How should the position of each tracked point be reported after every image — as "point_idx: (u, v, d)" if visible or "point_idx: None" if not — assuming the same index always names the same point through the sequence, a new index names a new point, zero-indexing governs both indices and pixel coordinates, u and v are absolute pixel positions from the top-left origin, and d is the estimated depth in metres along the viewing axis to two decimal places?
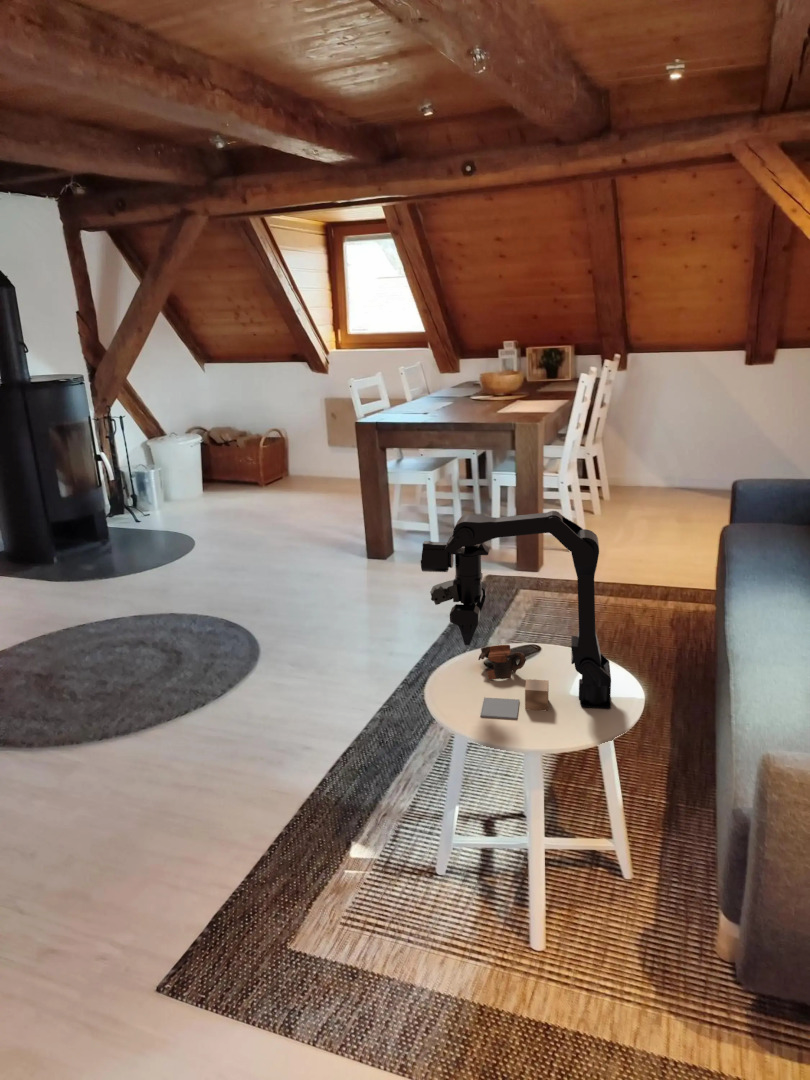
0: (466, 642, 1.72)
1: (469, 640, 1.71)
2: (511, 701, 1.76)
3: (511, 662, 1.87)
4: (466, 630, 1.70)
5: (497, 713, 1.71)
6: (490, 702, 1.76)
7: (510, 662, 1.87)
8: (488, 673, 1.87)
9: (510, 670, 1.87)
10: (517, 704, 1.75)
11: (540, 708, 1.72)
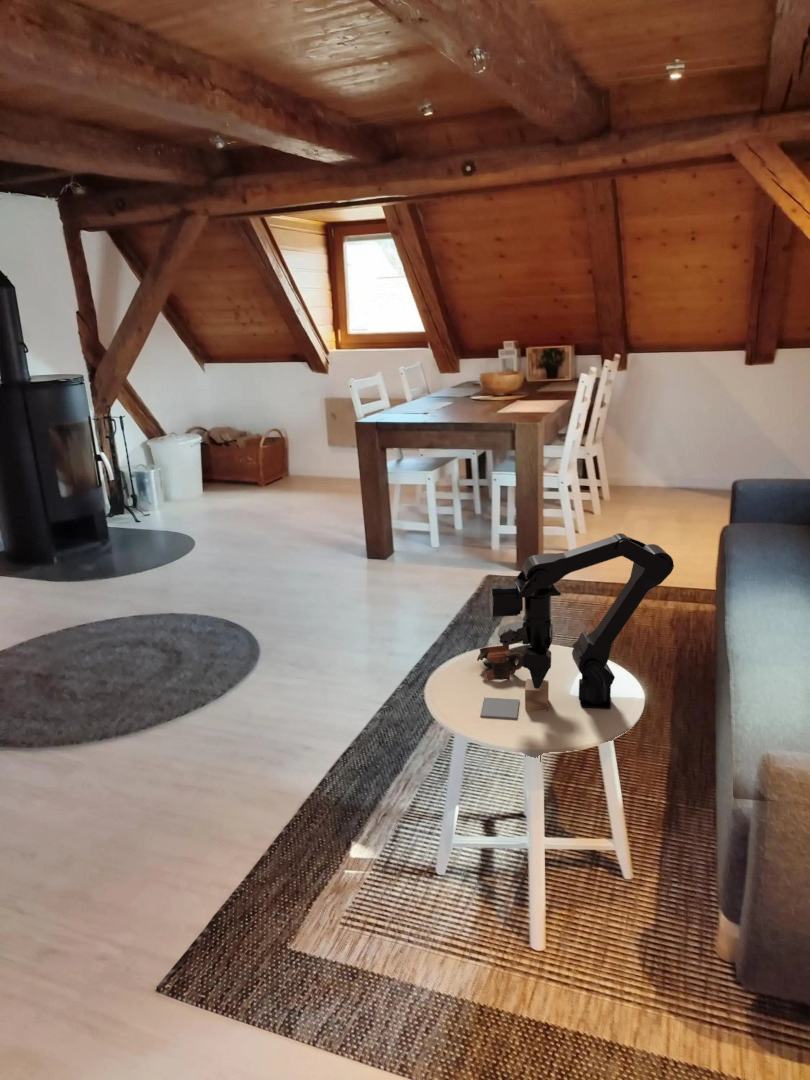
0: (535, 685, 1.68)
1: (539, 683, 1.68)
2: (511, 701, 1.76)
3: (510, 663, 1.87)
4: (536, 673, 1.66)
5: (497, 713, 1.71)
6: (490, 702, 1.76)
7: (509, 663, 1.87)
8: (487, 674, 1.87)
9: (509, 671, 1.87)
10: (517, 704, 1.75)
11: (540, 708, 1.72)
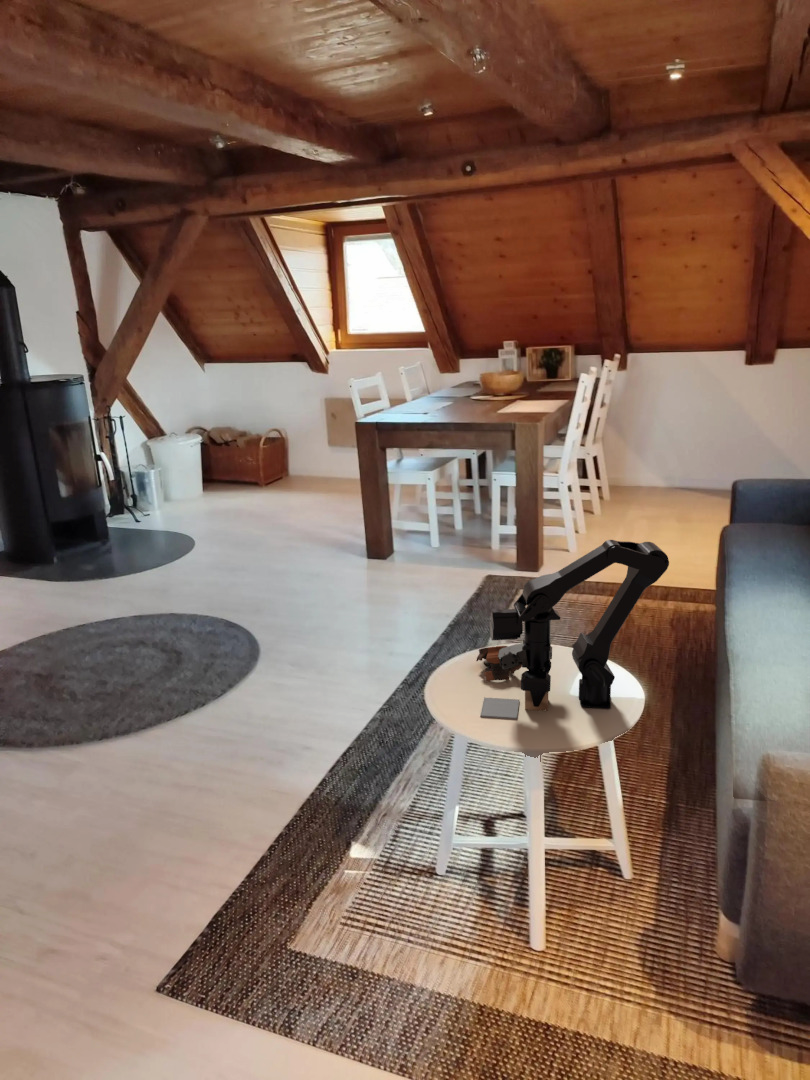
0: (535, 703, 1.72)
1: (539, 702, 1.71)
2: (511, 701, 1.76)
3: None
4: (536, 692, 1.70)
5: (497, 713, 1.71)
6: (490, 702, 1.76)
7: None
8: (487, 674, 1.86)
9: (508, 671, 1.87)
10: (517, 704, 1.75)
11: (540, 708, 1.72)
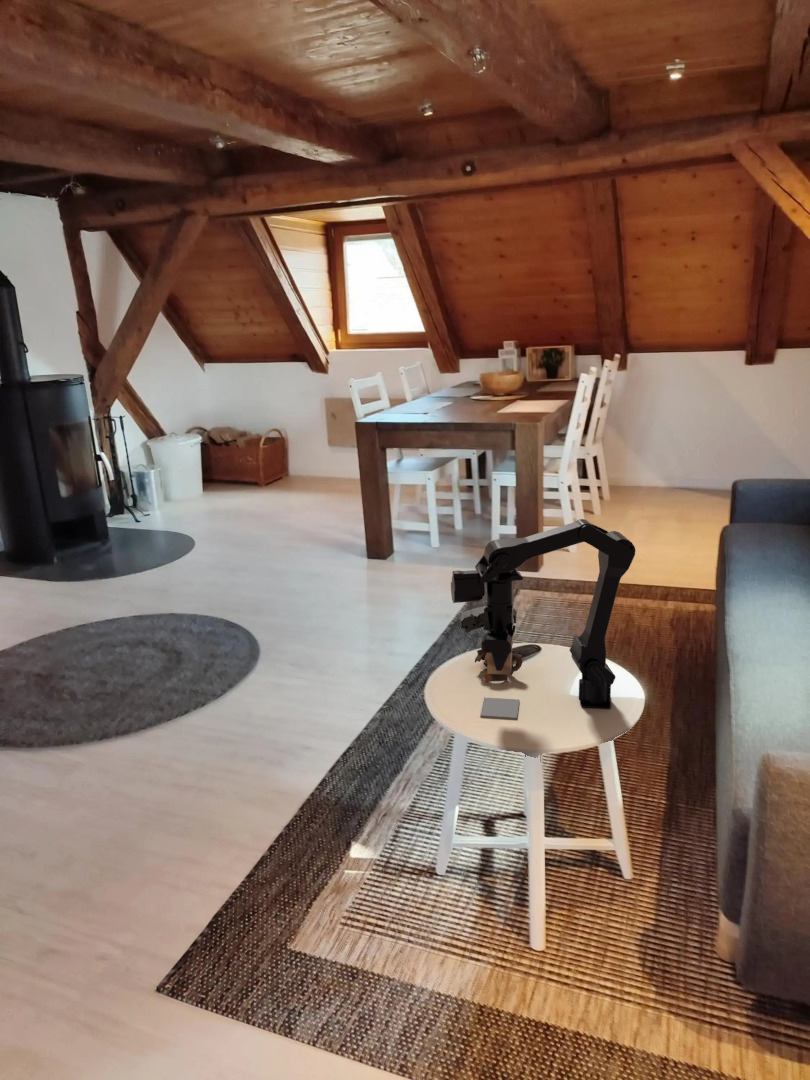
0: (498, 667, 1.67)
1: (501, 665, 1.67)
2: (511, 701, 1.76)
3: None
4: (498, 655, 1.66)
5: (497, 713, 1.71)
6: (490, 702, 1.76)
7: None
8: (485, 675, 1.86)
9: None
10: (517, 704, 1.75)
11: (502, 672, 1.68)
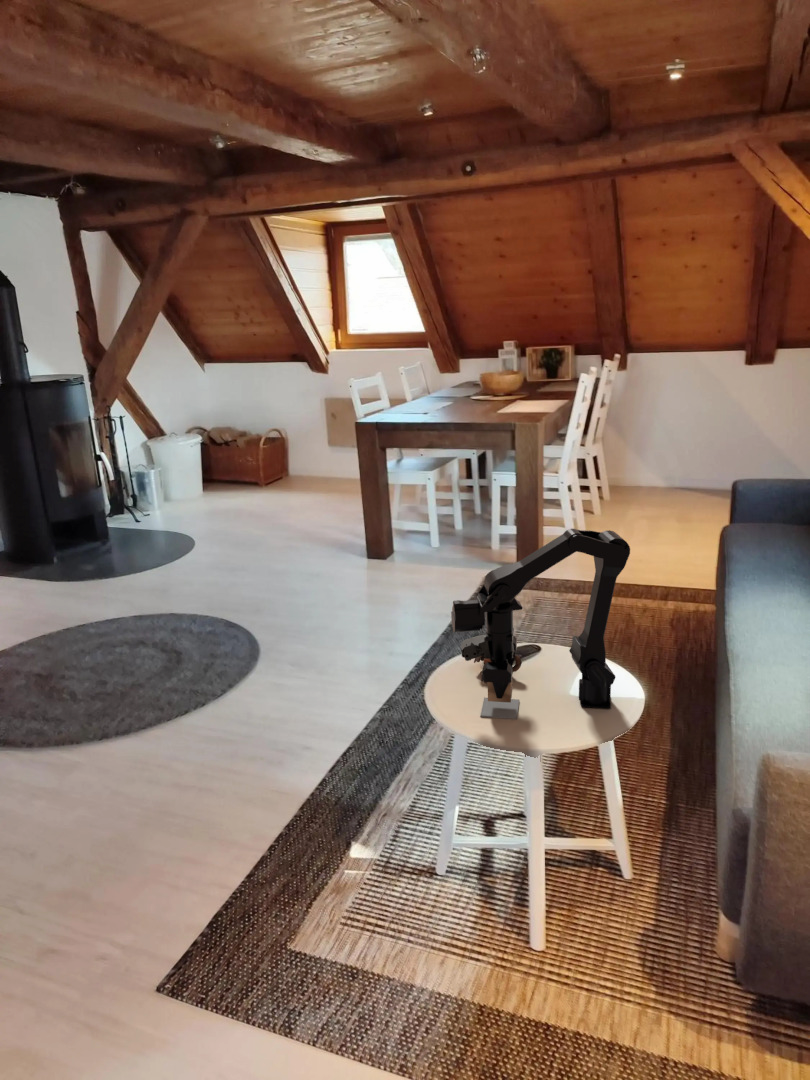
0: (498, 695, 1.69)
1: (501, 693, 1.69)
2: (511, 701, 1.76)
3: None
4: (499, 684, 1.68)
5: (497, 713, 1.71)
6: (490, 702, 1.76)
7: None
8: None
9: None
10: (517, 704, 1.75)
11: (503, 699, 1.70)
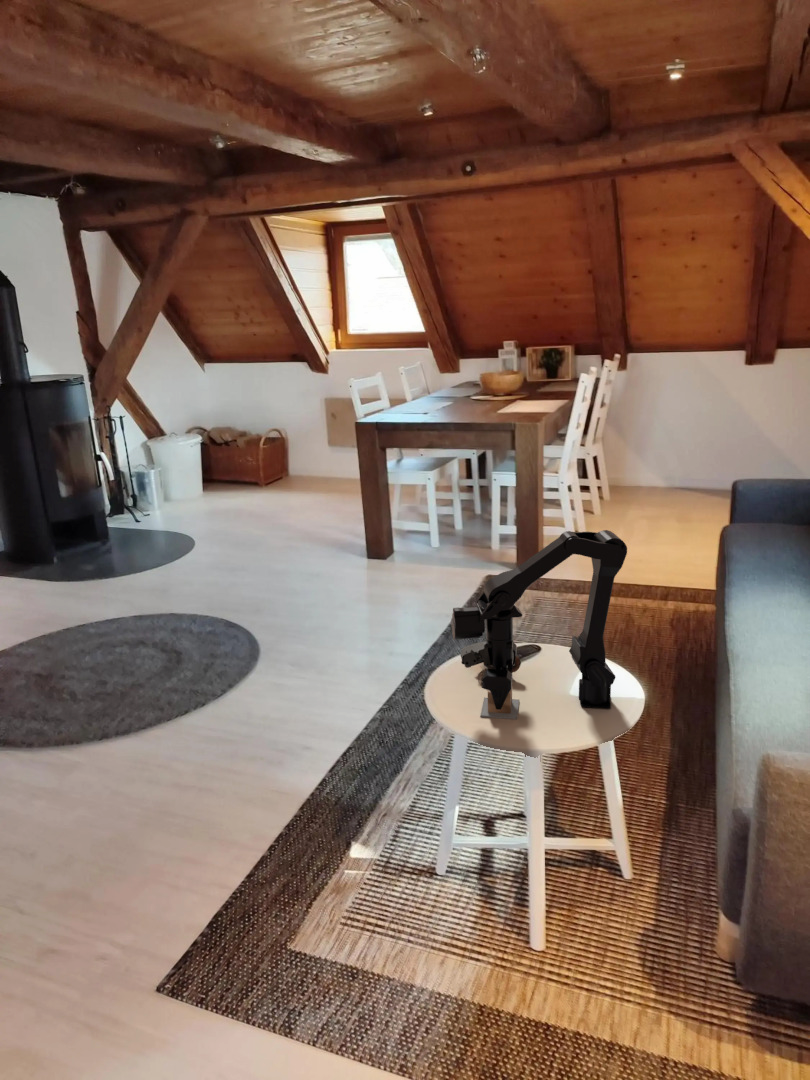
0: (497, 706, 1.68)
1: (501, 704, 1.68)
2: None
3: None
4: (498, 695, 1.67)
5: (497, 713, 1.71)
6: None
7: None
8: None
9: None
10: (517, 704, 1.75)
11: (502, 710, 1.71)
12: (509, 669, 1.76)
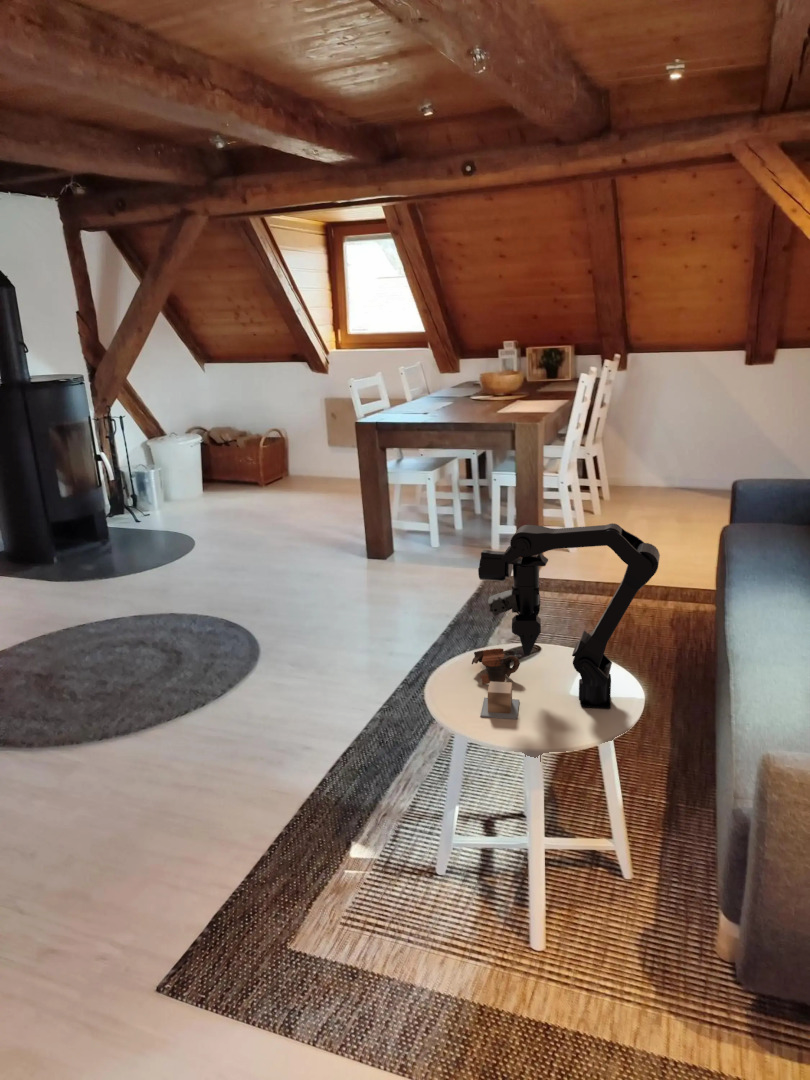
0: (525, 652, 1.72)
1: (529, 650, 1.72)
2: None
3: (505, 666, 1.86)
4: (526, 640, 1.70)
5: (497, 713, 1.71)
6: None
7: (504, 666, 1.85)
8: (482, 677, 1.85)
9: (504, 674, 1.85)
10: (517, 704, 1.75)
11: (502, 710, 1.71)
12: None
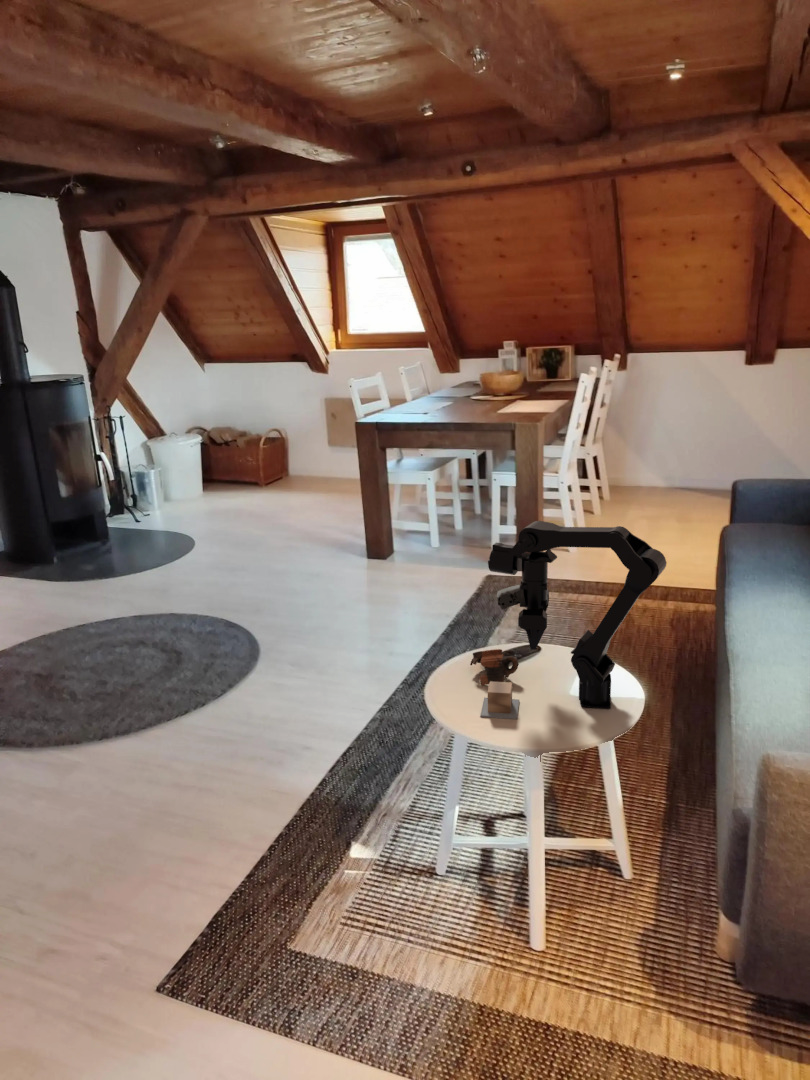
0: (532, 646, 1.74)
1: (535, 644, 1.74)
2: None
3: (504, 667, 1.85)
4: (533, 634, 1.72)
5: (497, 713, 1.71)
6: None
7: (503, 667, 1.85)
8: (481, 678, 1.85)
9: (503, 675, 1.85)
10: (517, 704, 1.75)
11: (502, 710, 1.71)
12: None
